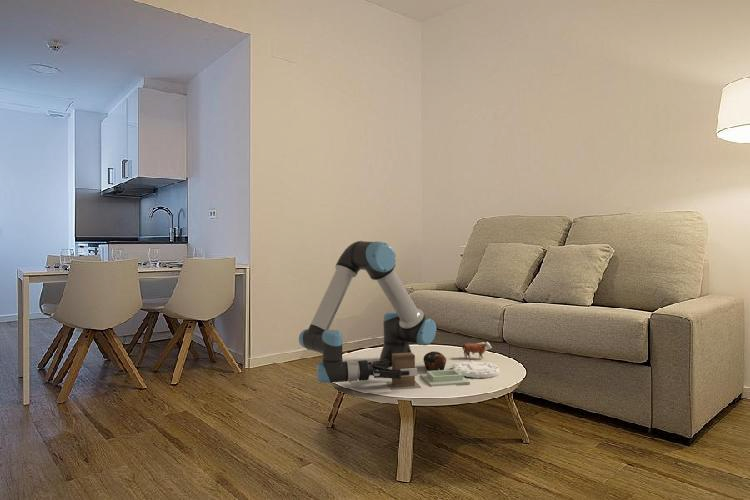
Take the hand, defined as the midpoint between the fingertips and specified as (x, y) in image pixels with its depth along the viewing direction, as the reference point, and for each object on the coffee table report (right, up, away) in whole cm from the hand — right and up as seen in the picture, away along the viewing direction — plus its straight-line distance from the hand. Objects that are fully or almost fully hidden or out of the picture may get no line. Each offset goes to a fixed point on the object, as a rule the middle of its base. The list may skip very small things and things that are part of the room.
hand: (412, 367), depth 203 cm
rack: (+13, -7, +6) cm, 16 cm away
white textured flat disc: (+28, -7, +18) cm, 34 cm away
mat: (-4, -7, 0) cm, 8 cm away
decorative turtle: (+11, -6, +22) cm, 25 cm away
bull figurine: (+33, -5, +40) cm, 52 cm away
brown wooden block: (-4, -7, 0) cm, 8 cm away
